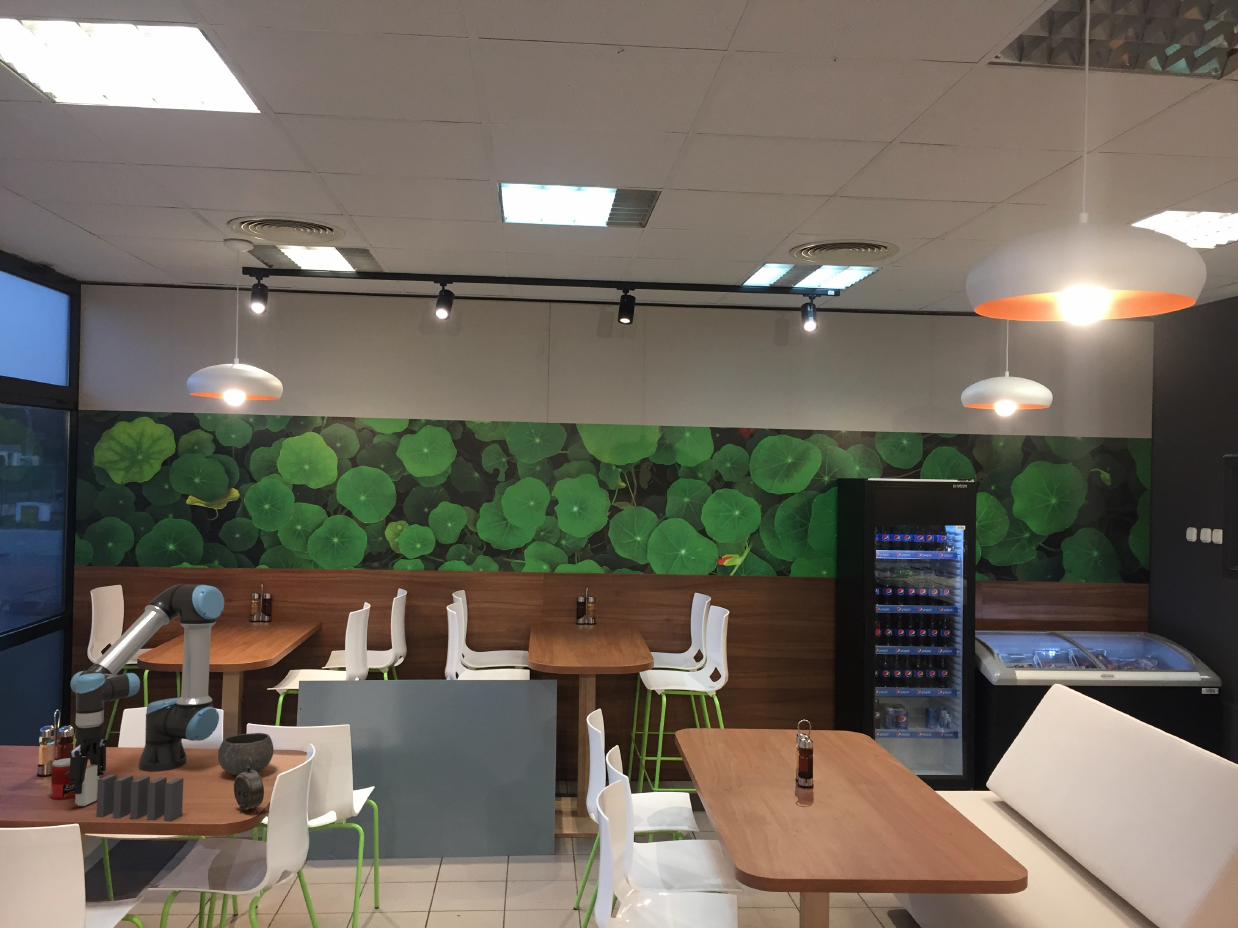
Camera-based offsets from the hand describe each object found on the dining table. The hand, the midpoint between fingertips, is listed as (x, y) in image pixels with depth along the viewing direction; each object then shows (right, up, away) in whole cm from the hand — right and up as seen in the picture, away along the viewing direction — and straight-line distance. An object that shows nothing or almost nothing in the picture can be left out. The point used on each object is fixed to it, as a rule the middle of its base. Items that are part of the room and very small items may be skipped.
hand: (87, 799), depth 270 cm
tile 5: (+27, -1, -10) cm, 29 cm away
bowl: (+35, -4, +32) cm, 48 cm away
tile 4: (+21, -1, -9) cm, 23 cm away
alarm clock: (+52, -2, -5) cm, 52 cm away
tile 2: (+11, -1, -8) cm, 13 cm away
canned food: (-12, -2, +8) cm, 14 cm away
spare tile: (0, -1, 0) cm, 1 cm away
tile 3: (+16, -1, -9) cm, 18 cm away
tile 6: (+32, -1, -11) cm, 34 cm away
